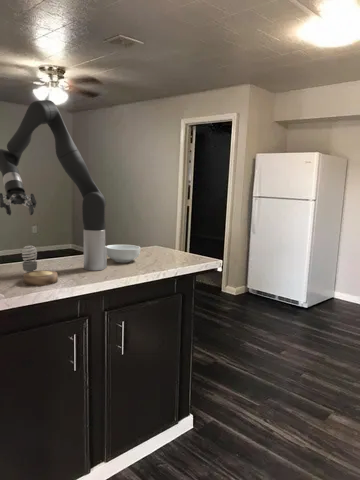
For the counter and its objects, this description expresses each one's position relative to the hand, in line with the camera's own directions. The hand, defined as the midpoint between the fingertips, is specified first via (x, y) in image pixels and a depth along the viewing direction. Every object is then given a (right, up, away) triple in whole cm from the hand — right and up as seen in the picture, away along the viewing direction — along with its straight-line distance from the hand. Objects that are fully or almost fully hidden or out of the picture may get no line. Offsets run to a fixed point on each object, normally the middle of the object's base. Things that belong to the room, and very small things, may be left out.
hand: (21, 214), depth 162 cm
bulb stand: (+13, -26, -15) cm, 33 cm away
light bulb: (+6, -25, -6) cm, 26 cm away
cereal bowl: (+38, -21, +28) cm, 52 cm away
